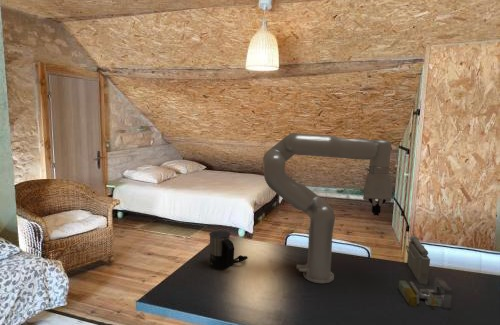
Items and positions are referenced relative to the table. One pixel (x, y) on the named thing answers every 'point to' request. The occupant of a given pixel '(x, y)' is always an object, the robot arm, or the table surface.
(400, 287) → the medication box
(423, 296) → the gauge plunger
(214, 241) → the milk frother
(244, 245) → the table surface
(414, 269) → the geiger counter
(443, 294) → the grey u-shaped bracket
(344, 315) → the table surface
